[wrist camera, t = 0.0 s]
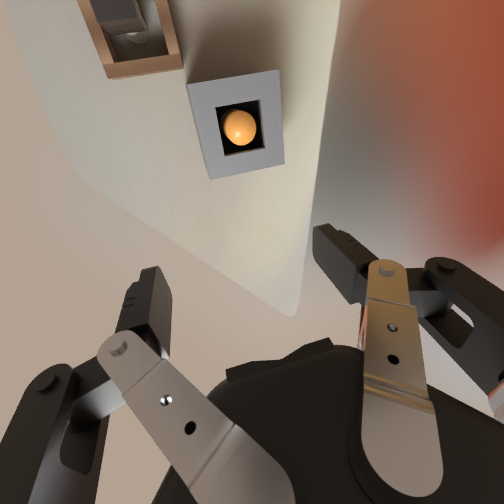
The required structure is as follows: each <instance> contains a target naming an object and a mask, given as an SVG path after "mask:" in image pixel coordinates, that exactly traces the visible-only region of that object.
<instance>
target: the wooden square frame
mask: <svg viewBox="0 0 504 504" xmlns="http://www.w3.org/2000/svg"><path fill="white" fill-rule="evenodd" d="M77 2H78V4H79V7H80V9H81V12H82V14H83V17H84V19H85V22H86V24H87V27H88V29H89V32H90V34H91V37H92V40H93V42H94V45H95V47H96V50H97V52H98V55H99V57H100V60H101V62H102V65H103V67H104V70H105V72H106V75H107V77H108V78H109V79H121V78H127V77H133V76H140V75H146V74H153V73H159V72H165V71H172V70H178V69H183V64H182V59H181V55H180V51H179V47H178V43H177V39H176V35H175V30H174V26H173V22H172V18H171V14H170V10H169V6H168V2H167V0H155V2H156V6H157V10H158V14H159V18H160V21H161V25H162V29H163V33H164V37H165V40H166V44H167V48H168V52H169V55H164V56H157V57H151V58H144V59H137V60H131V61H124V62H118V59H117V57H116V54H115V51H114V48H113V46H112V43H111V40H110V37H109V35H108V32H107V30H106V29H105V28H103V27H102V26H101V25H100V24H99V23H97V20H96V17H95V15H94V12H93V9H92V7H91V4H90V1H89V0H77Z"/></svg>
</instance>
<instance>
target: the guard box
mask: <svg viewBox="0 0 504 504" xmlns="http://www.w3.org/2000/svg"><path fill="white" fill-rule="evenodd" d="M186 89H187V93H188V97H189V101H190V105H191V109H192V113H193V118H194V122H195V126H196V130H197V134H198V138H199V142H200V146H201V150H202V154H203V158H204V162H205V166H206V169H207V172H208V175H209V178H210V180H213V179H217V178H222V177H227V176H231V175H236V174H240V173H245V172H250V171H254V170H259V169H264V168H268V167H273V166H278V165H282V164H285V161H284V143H283V125H282V107H281V90H280V72H279V69H277V70H271V71H265V72H259V73H253V74H247V75H241V76H235V77H229V78H223V79H217V80H211V81H205V82H198V83H192V84H187V85H186ZM253 100H257V108H258V117H259V126H260V136H261V145H262V148H257V149H252V150H247V151H242V152H237V153H232V154H227V155H224V151H223V145H222V140H221V135H220V130H219V125H218V120H217V115H216V110H215V107H220V106H226V105H231V104H237V103H242V102H248V101H253Z"/></svg>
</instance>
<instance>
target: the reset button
mask: <svg viewBox="0 0 504 504" xmlns="http://www.w3.org/2000/svg"><path fill="white" fill-rule="evenodd" d="M221 129H222V131H223V133H224V134H225V135H226V136H227V137H228V138H229V139H230V140H231V141H232V142H233V143H234V144H237V145H246V144H248V143H249V142H251V141H252V139H253V138H254V136H255V133H256V124H255V121H254V119H253V117H252V116H251V115H250V114H249V113H247V112H244V111H241V110H237V109H230V110H227V111H226V112H225V113H224V114H223V116H222V118H221Z"/></svg>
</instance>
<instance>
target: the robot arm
mask: <svg viewBox="0 0 504 504" xmlns="http://www.w3.org/2000/svg"><path fill="white" fill-rule="evenodd" d="M313 256H314V259H315V261H316V263H317V264H318V265H319V266H320V268H321V269H322V270H323V271H324V273H325V274H326V275H327V276H328V278H329V279H330V280H331V281H332V283H333V284H334V285H335V287H336V288H337V289H338V290H339V292H340V293H341V294H342V295H343V297H344V298H345V299H346V300H347V302H348V303H349V304H350V305H351V304H354V303H357V302H359V303H360V304H361V311H360V323H359V334H358V344H357V348H353V347H350V346H345V345H333V343H332V342H331V340H330V338H329V337H328V338H325V339H322V340H318V341H315V342H312V343H309V344H306V345H304V346H302V347H300V348H299V349H297V350H296V351H294V352H292V353H291V354H289V355H288V356H286V357H284V358H283V359H280V360H267V361H251V362H248V363H245V364H242V365H238V366H235V367H232V368H229V369H226V377H227V378H226V379H225V380H223V381H222V382H221V383H219V384H218V385H217V386H216V387H215V388H214V389H213V390H212V391H211V392H210V393H209V395H208V396H207V397H205V396H204V395H203V394H202V393H201V392H200V391H199V390H198V389H197V388H196V387H195V386H194V385H193V384H192V383H190V382H189V381H188V380H187V379H186V378H185V377H184V376H183V375H182V374H181V373H180V372H179V371H178V370H177V369H176V368H175V367H174V366H173V365H171V363H169V362H168V361H167V360H166V359H167V358H169V357H170V338H171V336H170V335H171V315H172V294H171V291H170V288H169V286H168V284H167V282H166V280H165V277H164V275H163V273H162V271H161V269H160V267H159V266H155V267H151V268H147V269H143V270H142V271H141V274H140V279H139V281H137V282H134V283H133V284H132V285H131V286H130V288H129V289H128V290H127V292H126V295H125V299H124V302H123V306H122V309H121V313H120V316H119V320H118V324H117V327H116V331H115V334H114V335H112V336H111V337H109V338H108V339H107V340H106V341H105V342H104V343H103V344H102V345H101V347H100V348H99V350H98V353H97V356H96V357H94V358H92V359H90V360H88V361H86V362H85V363H83V364H81V365H79V366H77V367H76V368H74V369H72V368H71V367H70V366H69V365H67V364H57V365H54V366H51V367H49V368H48V369H46V370H44V371H43V372H42V373H40V374H39V375H38V376H37V377H36V378H35V379H34V380H33V381H32V382H31V383H30V384H29V385H28V387H27V389H26V390H25V392H24V394H23V397H22V399H21V400H20V403H19V405H18V407H17V409H16V411H15V413H14V415H13V417H12V420H11V422H10V424H9V426H8V428H7V430H6V432H5V434H4V436H3V439H2V441H1V443H0V504H95V499H96V493H97V487H98V481H99V475H100V470H101V463H102V457H103V452H104V446H105V440H106V434H107V428H108V423H109V417H110V413H112V412H113V411H115V410H116V409H118V408H119V407H121V406H123V405H124V404H126V403H127V404H128V406H129V407H130V408H131V410H132V411H133V412H134V414H135V415H136V416H137V418H138V419H139V421H140V422H141V423H142V425H143V426H144V428H145V429H146V430H147V432H148V433H149V434H150V436H151V437H152V438H153V440H154V441H155V443H156V444H157V445H158V447H159V448H160V449H161V451H162V452H163V453H164V455H165V456H166V458H167V459H168V460H169V462H170V463H171V466H170V468H169V470H168V472H167V474H166V476H165V478H164V480H163V482H162V484H161V486H160V488H159V490H158V492H157V494H156V496H155V498H154V500H153V501H152V503H151V504H504V291H502V290H501V289H499V288H498V287H496V286H495V285H493V284H492V283H490V282H489V281H487V280H486V279H484V278H483V277H481V276H480V275H478V274H477V273H475V272H474V271H472V270H471V269H469V268H468V267H466V266H465V265H463V264H462V263H460V262H458V261H456V260H453V259H449V258H445V257H434V258H430V259H428V260H427V261H426V263H425V266H424V268H404V267H403V266H402V265H401V264H399V263H397V262H395V261H392V260H387V259H379V258H377V257H376V256H375V255H374V254H372V252H370V251H369V250H368V249H367V248H366V247H364V246H363V245H361V243H360V242H358V241H357V240H356V239H355V238H354V237H352V236H351V235H350V234H349V233H346V232H344V231H341V230H338V231H337V230H336V229H335V228H334V227H333V226H331V225H330V224H329V223H327V224H323V225H319V226H316V227H314V228H313ZM453 303H454V304H455V305H456V306H457V307H458V308H460V309H461V310H462V311H463V312H465V314H467V315H468V316H469V317H470V318H471V320H472V322H473V324H474V328H473V327H472V326H471V325H470V324H469V323H467V322H466V321H465V320H464V319H463V318H462V317H461V316H459V315H458V314H457V313H456V312H455V311H454V310H452V309H451V307H452V305H453ZM418 322H419V323H420V325H421V326H422V327H423V328H424V329H425V330H426V331H427V332H428V333H429V334H430V335H431V336H432V337H433V338H434V339H435V340H436V342H437V343H438V344H439V345H440V346H441V347H442V348H443V349H444V350H445V351H446V352H447V353H448V354H449V355H450V356H451V357H452V359H454V361H456V363H457V364H458V365H459V366H460V367H461V368H462V369H463V370H464V371H465V372H466V373H467V374H468V375H469V377H470V378H471V379H472V380H473V381H474V382H475V383H476V384H477V385H478V386H479V387H480V388H481V389H482V390H483V391H484V392H485V394H486V395H487V396H488V401H489V405H490V407H491V409H492V411H493V412H494V414H495V415H494V418H492V417H490V416H488V415H486V414H484V413H482V412H480V411H478V410H476V409H474V408H473V407H470V406H469V405H467V404H465V403H463V402H461V401H459V400H457V399H455V398H453V397H451V396H449V395H447V394H446V393H444V392H442V391H440V390H438V389H436V388H434V387H432V386H430V385H428V384H426V377H425V369H424V361H423V354H422V347H421V339H420V331H419V325H418Z"/></svg>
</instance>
